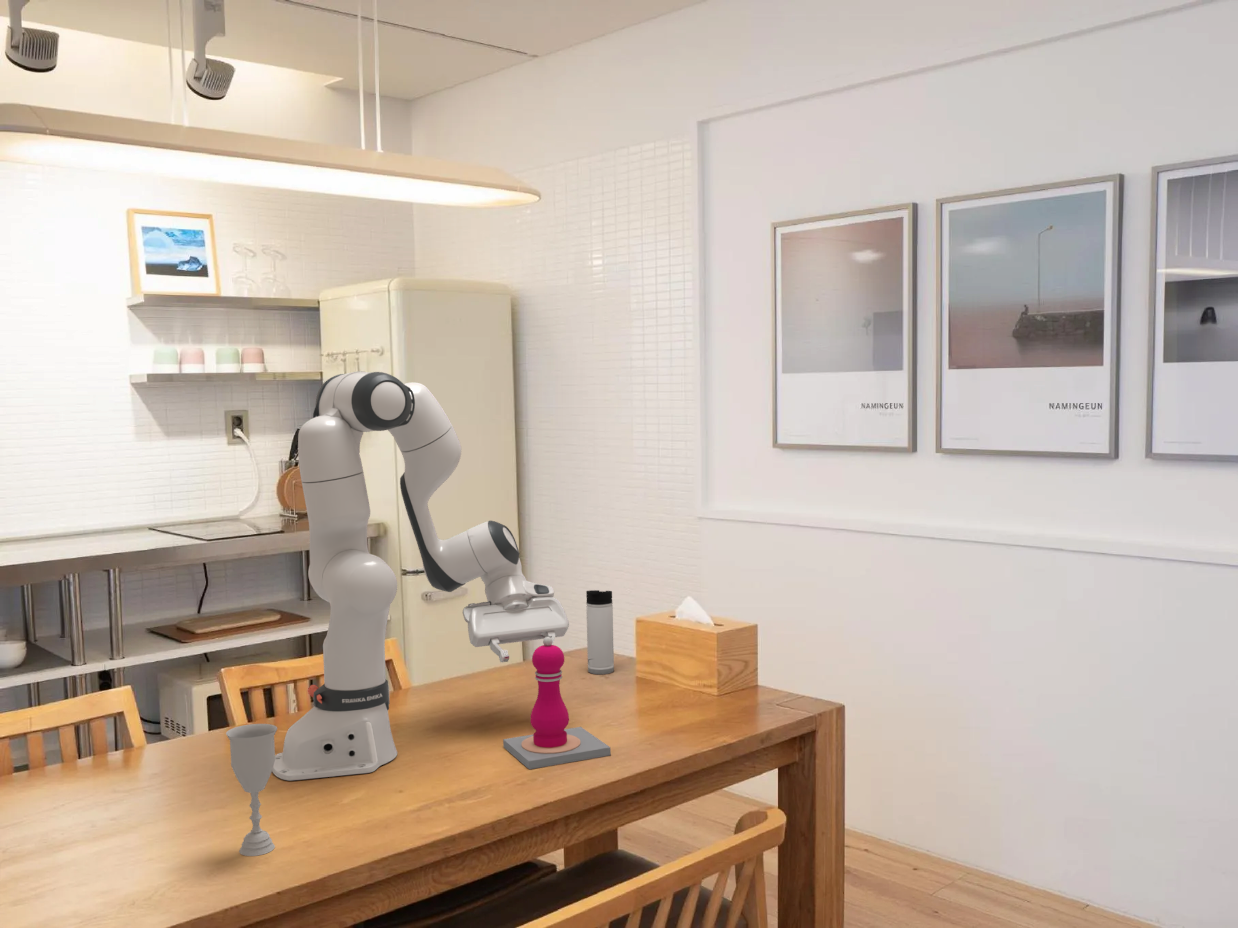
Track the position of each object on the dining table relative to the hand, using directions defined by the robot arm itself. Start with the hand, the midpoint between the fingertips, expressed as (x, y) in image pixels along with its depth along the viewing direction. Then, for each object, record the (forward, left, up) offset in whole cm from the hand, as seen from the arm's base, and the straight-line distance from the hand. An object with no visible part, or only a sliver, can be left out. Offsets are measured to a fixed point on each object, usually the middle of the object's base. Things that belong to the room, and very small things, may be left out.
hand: (528, 657), depth 214 cm
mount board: (+1, -11, -15) cm, 19 cm away
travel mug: (+32, +38, -16) cm, 52 cm away
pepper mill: (0, -11, -14) cm, 18 cm away
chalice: (-55, -31, -16) cm, 65 cm away
